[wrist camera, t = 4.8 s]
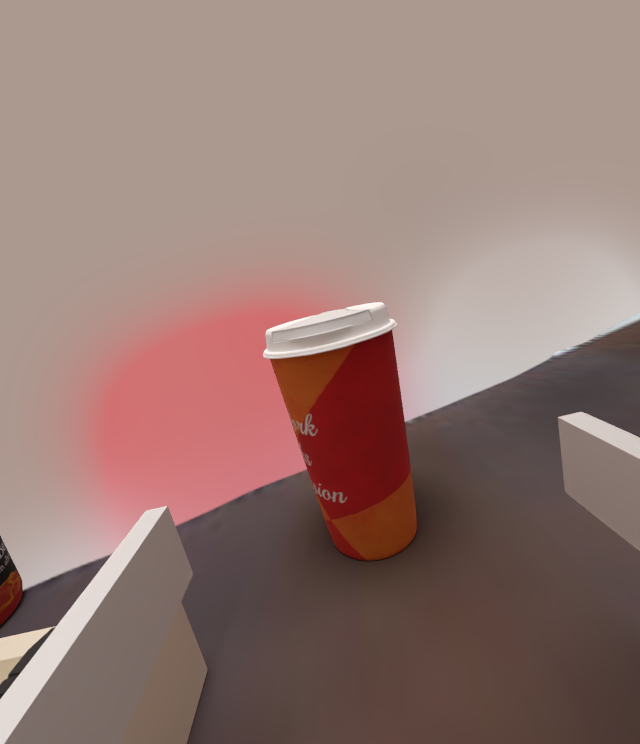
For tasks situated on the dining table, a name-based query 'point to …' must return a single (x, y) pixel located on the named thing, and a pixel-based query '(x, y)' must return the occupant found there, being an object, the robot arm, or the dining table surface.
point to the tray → (147, 684)
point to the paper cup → (349, 424)
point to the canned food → (8, 584)
